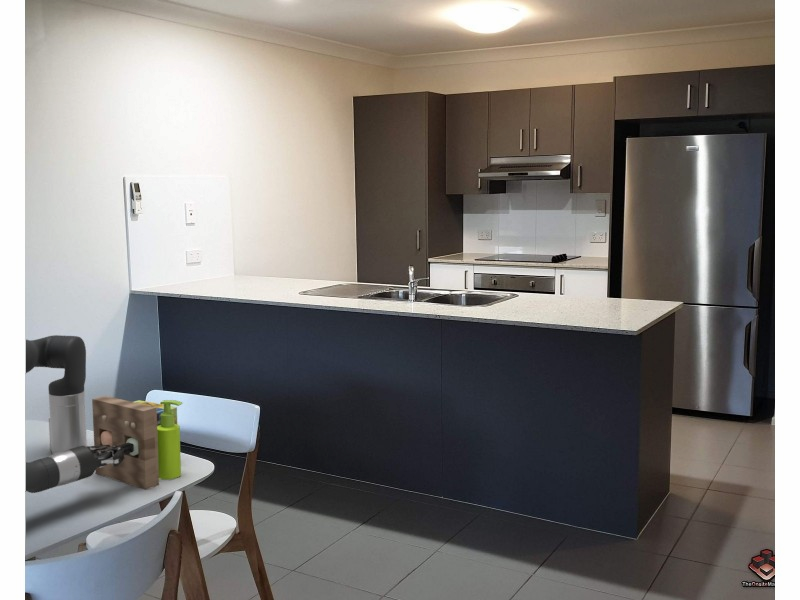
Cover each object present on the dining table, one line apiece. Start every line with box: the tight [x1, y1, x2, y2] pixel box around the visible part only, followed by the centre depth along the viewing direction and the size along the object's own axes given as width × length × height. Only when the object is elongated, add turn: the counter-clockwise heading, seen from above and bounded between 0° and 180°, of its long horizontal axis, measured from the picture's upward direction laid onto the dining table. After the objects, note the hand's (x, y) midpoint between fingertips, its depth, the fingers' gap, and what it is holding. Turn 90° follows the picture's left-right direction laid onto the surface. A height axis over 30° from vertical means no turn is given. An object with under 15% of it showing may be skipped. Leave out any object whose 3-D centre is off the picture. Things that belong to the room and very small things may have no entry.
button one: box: [101, 431, 113, 446], centre depth 197 cm, size 4×3×4 cm
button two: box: [126, 437, 138, 455], centre depth 192 cm, size 4×3×4 cm
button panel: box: [91, 395, 160, 490], centre depth 195 cm, size 20×4×20 cm, turn 57°
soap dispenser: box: [157, 399, 183, 481], centre depth 198 cm, size 6×7×20 cm
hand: (131, 446), depth 191 cm, fingers closed
